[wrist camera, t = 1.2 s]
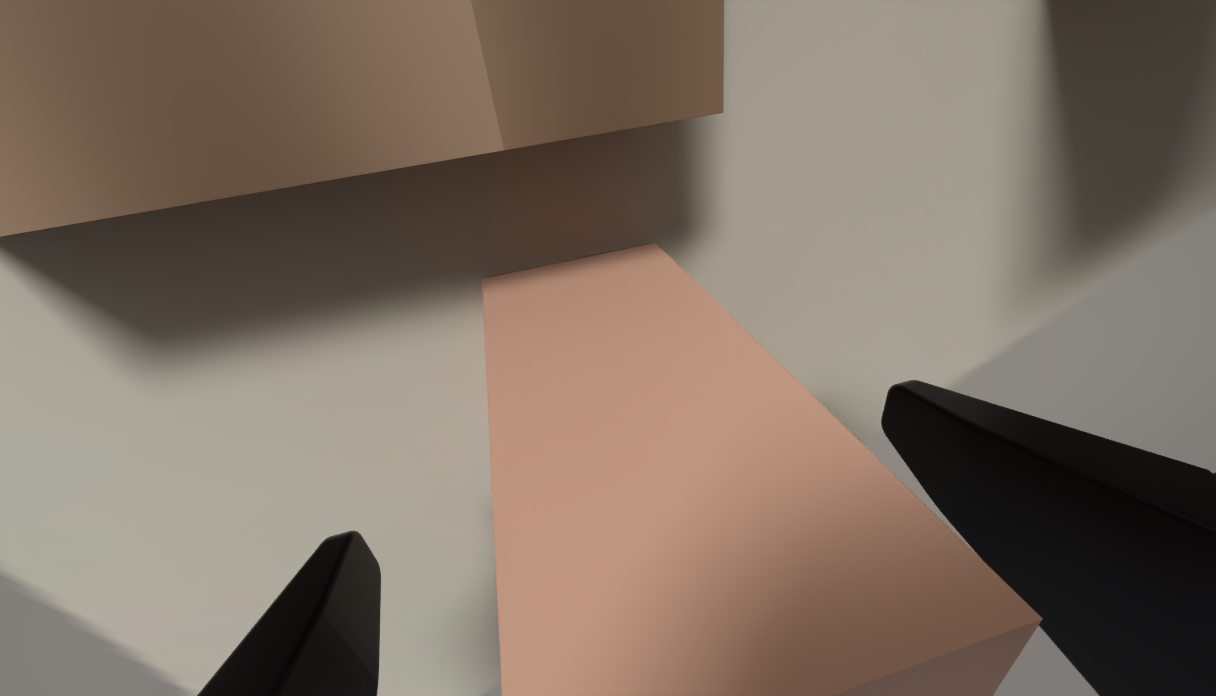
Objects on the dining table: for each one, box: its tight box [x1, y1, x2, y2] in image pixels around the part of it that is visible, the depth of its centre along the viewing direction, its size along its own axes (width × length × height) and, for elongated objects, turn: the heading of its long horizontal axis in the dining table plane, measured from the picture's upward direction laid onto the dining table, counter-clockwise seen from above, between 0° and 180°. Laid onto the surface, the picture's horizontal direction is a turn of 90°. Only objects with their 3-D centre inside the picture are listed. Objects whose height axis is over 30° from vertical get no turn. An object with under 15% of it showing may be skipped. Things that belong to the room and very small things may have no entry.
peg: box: [482, 243, 1042, 696], centre depth 8 cm, size 4×4×9 cm
